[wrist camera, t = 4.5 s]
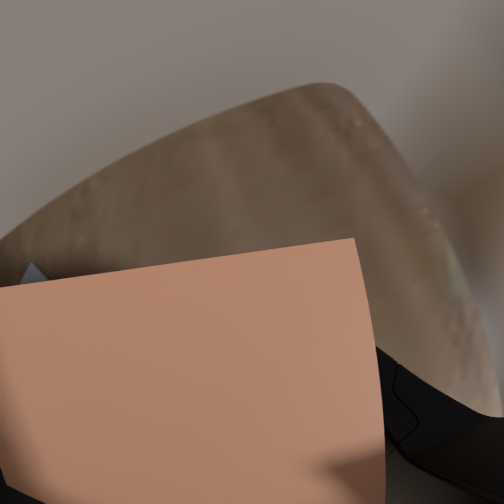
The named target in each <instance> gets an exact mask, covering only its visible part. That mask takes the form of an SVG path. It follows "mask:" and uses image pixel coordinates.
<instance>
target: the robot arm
mask: <svg viewBox="0 0 504 504" xmlns="http://www.w3.org/2000/svg"><path fill="white" fill-rule="evenodd" d="M375 348H376V355H377V362H378V370H379V379H380V388H381V397H382V408H383V421H384V438H385V466H386V494H385V504H504V417H490V416H486V415H483V414H480V413H478V412H476V411H474V410H472V409H470V408H468V407H467V406H465V405H463V404H461V403H460V402H458V401H456V400H454V399H453V398H451V397H449V396H447V395H446V394H444V393H442V392H441V391H439V390H437V389H436V388H434V387H432V386H431V385H429V384H428V383H426V382H424V381H423V380H421V379H420V378H419V377H417V376H416V375H414V374H413V373H412V372H410V371H409V370H407V369H406V368H405V367H403V366H402V365H401V364H398V362H397V361H395V360H394V359H393V358H391V357H390V356H389V355H387V354H386V353H385V352H383V351H382V350H381V349H379V348H378V347H377V346H375ZM0 504H46V503H44V502H41V501H39V500H37V499H35V498H32V497H30V496H28V495H26V494H24V493H22V492H20V491H18V490H16V489H14V488H12V487H10V486H8V485H7V484H6V482H5V479H4V476H3V473H2V470H1V467H0Z"/></svg>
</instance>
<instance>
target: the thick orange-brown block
mask: <svg viewBox="0 0 504 504" xmlns="http://www.w3.org/2000/svg"><path fill="white" fill-rule="evenodd" d="M0 467H1V470H2V473H3V476H4V479H5V482H6V484H7V485H8V486H10V487H12V488H14V489H16V490H18V491H20V492H22V493H24V494H26V495H28V496H30V497H32V498H35V499H37V500H39V501H41V502H44V503H46V504H385V494H386V466H385V438H384V421H383V408H382V397H381V388H380V379H379V370H378V362H377V355H376V348H375V341H374V335H373V329H372V323H371V317H370V311H369V306H368V300H367V295H366V290H365V285H364V280H363V276H362V271H361V267H360V262H359V258H358V253H357V249H356V245H355V241H354V238H349V239H342V240H335V241H328V242H321V243H313V244H306V245H299V246H292V247H285V248H278V249H271V250H264V251H257V252H250V253H243V254H235V255H228V256H221V257H214V258H207V259H200V260H193V261H186V262H179V263H172V264H165V265H157V266H150V267H143V268H136V269H129V270H122V271H115V272H108V273H101V274H94V275H86V276H79V277H72V278H65V279H58V280H51V281H44V282H37V283H30V284H22V285H15V286H8V287H1V288H0Z"/></svg>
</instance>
